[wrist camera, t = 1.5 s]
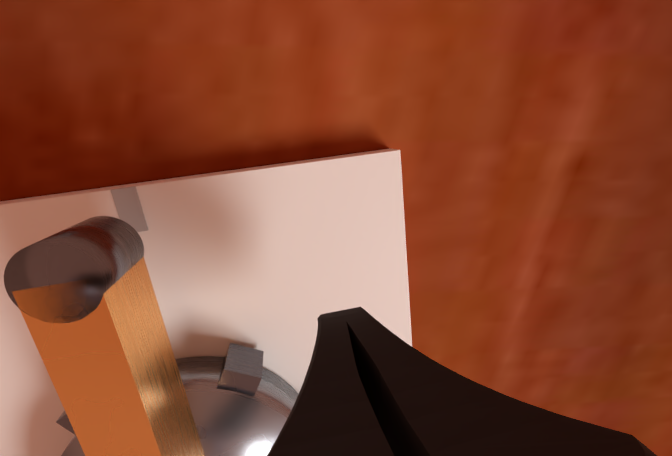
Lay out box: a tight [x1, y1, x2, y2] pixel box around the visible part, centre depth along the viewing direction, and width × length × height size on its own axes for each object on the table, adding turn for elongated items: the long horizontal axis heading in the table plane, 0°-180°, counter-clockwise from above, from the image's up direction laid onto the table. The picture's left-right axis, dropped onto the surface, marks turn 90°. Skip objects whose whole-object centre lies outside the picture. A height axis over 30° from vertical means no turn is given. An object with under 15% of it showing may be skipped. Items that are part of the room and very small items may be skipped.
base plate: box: [0, 149, 412, 456], centre depth 15 cm, size 22×22×1 cm
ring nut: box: [4, 216, 298, 456], centre depth 12 cm, size 17×12×4 cm
